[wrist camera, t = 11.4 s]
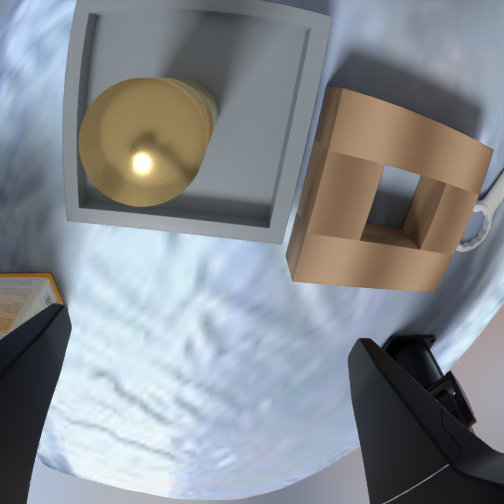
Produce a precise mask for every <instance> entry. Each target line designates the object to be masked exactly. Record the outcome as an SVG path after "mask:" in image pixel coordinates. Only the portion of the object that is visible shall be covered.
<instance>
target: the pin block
mask: <svg viewBox="0 0 504 504" xmlns="http://www.w3.org/2000/svg"><path fill="white" fill-rule="evenodd" d="M493 151H494V150H493V149H492V148H490V147H488V146H486V145H484V144H482V143H480V142H479V141H477V140H475V139H473V138H471V137H469V136H467V135H465V134H463V133H461V132H459V131H456V130H454V129H452V128H450V127H448V126H446V125H443V124H441V123H439V122H437V121H434V120H432V119H430V118H427V117H425V116H422V115H420V114H418V113H415V112H413V111H410V110H407V109H405V108H402V107H399V106H397V105H394V104H391V103H388V102H386V101H383V100H380V99H377V98H374V97H371V96H368V95H364V94H361V93H358V92H355V91H351V90H348V89H345V88H339V87H332V86H326V89H325V94H324V99H323V103H322V108H321V112H320V117H319V121H318V126H317V130H316V134H315V139H314V143H313V147H312V152H311V156H310V160H309V164H308V169H307V173H306V177H305V181H304V185H303V189H302V193H301V197H300V202H299V206H298V210H297V214H296V218H295V221H294V225H293V229H292V233H291V237H290V241H289V245H288V249H287V252H286V259H287V263H288V267H289V270H290V274H291V278H292V281H293V282H304V283H315V284H327V285H339V286H351V287H364V288H377V289H390V290H404V291H419V292H435V290H436V288H437V287H438V285H439V283H440V281H441V279H442V277H443V275H444V273H445V271H446V269H447V267H448V265H449V263H450V261H451V259H452V257H453V255H454V253H455V251H456V249H457V246H458V244H459V242H460V240H461V238H462V235H463V233H464V231H465V228H466V226H467V224H468V221H469V219H470V216H471V214H472V212H473V209H474V206H475V204H476V201H477V199H478V196H479V193H480V191H481V188H482V185H483V182H484V179H485V176H486V173H487V170H488V167H489V164H490V161H491V158H492V154H493ZM384 165H389V166H392V167H396V168H399V169H403V170H406V171H409V172H413V173H416V174H419V175H421V177H420V180H419V183H418V186H417V189H416V192H415V195H414V198H413V201H412V203H411V206H410V209H409V212H408V214H407V217H406V220H405V222H404V225H403V227H402V229H398V228H392V227H387V226H381V225H376V224H370V223H366V221H367V218H368V215H369V212H370V209H371V206H372V203H373V200H374V197H375V194H376V191H377V187H378V184H379V181H380V178H381V175H382V171H383V168H384Z"/></svg>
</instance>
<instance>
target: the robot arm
mask: <svg viewBox="0 0 504 504" xmlns="http://www.w3.org/2000/svg"><path fill="white" fill-rule="evenodd" d="M71 329H72V326H71V321H70V317H69V313H68V309H67V307H66V305H64V304H60V303H53V304H51V305H49V306H48V307H46V308H45V309H43V310H42V311H40V312H39V313H37V314H36V315H35V316H33V317H32V318H30V319H29V320H27V321H26V322H24V323H23V324H21V325H20V326H19V327H17V328H16V329H14V330H13V331H11V332H10V333H9V334H7V335H6V336H4V337H3V338H2V339H0V504H27V498H28V492H29V487H30V481H31V475H32V471H33V466H34V462H35V458H36V453H37V449H38V445H39V441H40V438H41V434H42V430H43V427H44V423H45V420H46V416H47V413H48V410H49V406H50V403H51V400H52V397H53V394H54V391H55V388H56V385H57V382H58V379H59V376H60V373H61V369H62V365H63V361H64V357H65V353H66V349H67V345H68V341H69V337H70V334H71ZM435 341H436V338H435V336H434V335H428V336H394V337H391V338H390V339H389V340H388V341H387V343H386V345H385V346H384V348H383V349H382V348H380V347H379V346H378V345H377V344H376V343H375V342H374V341H373V340H372V339H370V338H359V339H358V340H357V341H356V343H355V345H354V346H353V348H352V350H351V352H350V354H349V356H348V369H349V378H350V388H351V398H352V405H353V410H354V415H355V420H356V425H357V430H358V435H359V441H360V446H361V451H362V457H363V463H364V468H365V475H366V481H367V487H368V493H369V500H370V504H504V453H500V452H498V451H496V450H494V449H492V448H491V447H490V446H488V445H487V444H486V443H485V442H483V441H482V440H481V439H479V438H478V437H477V436H476V435H475V433H474V431H473V429H472V426H471V425H473V424H475V423H476V422H477V421H476V418H475V416H474V413H473V411H472V408H471V406H470V404H469V401H468V399H467V397H466V395H465V393H464V391H463V389H462V387H461V386H460V384H459V382H458V380H457V379H456V377H455V376H454V374H453V373H452V372H451V371H449V372H447V373H446V375H445V376H444V375H443V373H442V371H441V369H440V367H439V365H438V363H437V362H436V360H435V358H434V356H433V354H432V352H431V351H430V348H431V347H432V345H433V344H434V342H435ZM454 392H455V393H456V394H454V395H453V393H454Z"/></svg>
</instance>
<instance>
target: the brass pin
mask: <svg viewBox="0 0 504 504" xmlns="http://www.w3.org/2000/svg"><path fill="white" fill-rule="evenodd" d="M217 118H218V104H217V101H216V98H215V96H214V94H213V93H212V91H211V90H210V89H209V88H208V87H207V86H205V85H204V84H202V83H201V82H198V81H196V80H192V79H183V78H133V79H127V80H124V81H121V82H119V83H116V84H114V85H112V86H111V87H109V88H108V89H106V90H105V91H103V92H102V93H101V94H100V95H99V96H98V97H97V98H96V99H95V100H94V101H93V103H92V104H91V105H90V107H89V108H88V110H87V112H86V114H85V116H84V118H83V121H82V124H81V128H80V133H79V153H80V158H81V161H82V165H83V167H84V170H85V172H86V174H87V175H88V177H89V179H90V180H91V181H92V183H93V184H94V185H95V186H96V187H97V188H98V189H99V190H100V191H101V192H102V193H103V194H105V195H106V196H108V197H109V198H111V199H113V200H115V201H117V202H119V203H122V204H125V205H130V206H136V207H146V206H154V205H159V204H162V203H164V202H167V201H169V200H171V199H173V198H175V197H176V196H178V195H179V194H181V193H182V192H183V191H184V190H185V189H186V188H187V187H188V186H189V185H190V184H191V183H192V181H193V180H194V178H195V177H196V175H197V174H198V171H199V169H200V167H201V165H202V162H203V159H204V156H205V153H206V150H207V147H208V144H209V142H210V139H211V136H212V133H213V130H214V128H215V125H216V122H217Z"/></svg>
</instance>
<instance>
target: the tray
mask: <svg viewBox="0 0 504 504" xmlns="http://www.w3.org/2000/svg"><path fill="white" fill-rule="evenodd" d="M331 22H332V17H331V16H327V15H324V14H320V13H317V12H313V11H309V10H305V9H301V8H296V7H292V6H287V5H283V4H278V3H272V2H267V1H261V0H77V2H76V6H75V11H74V16H73V22H72V28H71V34H70V40H69V47H68V55H67V64H66V73H65V85H64V101H63V175H64V191H65V203H66V214H67V221H72V222H82V223H92V224H101V225H111V226H121V227H130V228H139V229H149V230H158V231H167V232H176V233H185V234H194V235H203V236H212V237H221V238H229V239H238V240H247V241H255V242H264V243H272V244H281V245H282V243H283V239H284V234H285V230H286V226H287V222H288V218H289V214H290V210H291V206H292V202H293V197H294V193H295V189H296V185H297V180H298V176H299V172H300V168H301V163H302V159H303V154H304V150H305V146H306V141H307V137H308V132H309V128H310V123H311V119H312V114H313V110H314V105H315V100H316V96H317V91H318V86H319V82H320V77H321V72H322V67H323V62H324V57H325V52H326V47H327V42H328V37H329V32H330V27H331ZM133 78H183V79H192V80H196V81H198V82H201V83H202V84H204V85H205V86H207V87H208V88H209V89H210V90H211V91H212V93H213V94H214V96H215V98H216V101H217V104H218V118H217V122H216V125H215V128H214V130H213V133H212V136H211V139H210V142H209V144H208V147H207V150H206V153H205V156H204V159H203V162H202V165H201V167H200V169H199V171H198V174H197V175H196V177H195V178H194V180H193V181H192V183H191V184H190V185H189V186H188V187H187V188H186V189H185V190H184V191H183V192H182V193H181V194H179V195H178V196H176V197H175V198H173V199H171V200H169V201H167V202H164V203H162V204H159V205H154V206H146V207H136V206H130V205H125V204H122V203H119V202H117V201H115V200H113V199H111V198H109V197H108V196H106V195H105V194H103V193H102V192H101V191H100V190H99V189H98V188H97V187H96V186H95V185H94V184H93V183H92V181H91V180H90V179H89V177H88V175H87V174H86V172H85V170H84V167H83V165H82V161H81V158H80V153H79V133H80V128H81V124H82V121H83V118H84V116H85V114H86V112H87V110H88V108H89V107H90V105H91V104H92V103H93V101H94V100H95V99H96V98H97V97H98V96H99V95H100V94H101V93H102V92H103V91H105V90H106V89H108V88H109V87H111V86H112V85H114V84H116V83H119V82H121V81H124V80H127V79H133Z"/></svg>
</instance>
